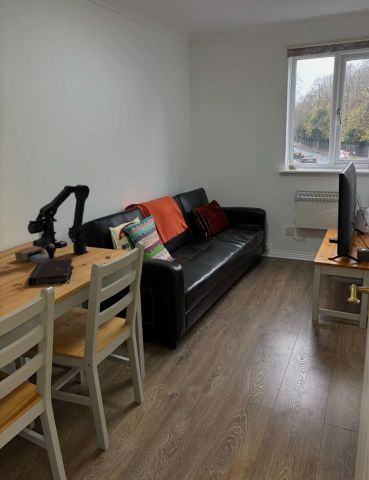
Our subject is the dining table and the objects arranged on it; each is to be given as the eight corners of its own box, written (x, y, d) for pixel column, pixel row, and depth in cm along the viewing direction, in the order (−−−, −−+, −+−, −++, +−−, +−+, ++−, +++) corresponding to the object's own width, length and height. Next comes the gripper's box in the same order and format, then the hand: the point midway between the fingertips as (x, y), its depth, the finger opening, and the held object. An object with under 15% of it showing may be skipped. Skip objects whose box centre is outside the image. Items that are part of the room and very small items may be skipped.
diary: (28, 287, 177) (26, 277, 176) (37, 270, 201) (36, 261, 199) (71, 284, 180) (69, 273, 179) (75, 267, 204) (74, 258, 203)
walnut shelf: (45, 255, 225) (44, 246, 224) (25, 262, 212) (24, 253, 211) (35, 253, 228) (34, 245, 227) (15, 261, 214) (14, 251, 213)
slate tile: (55, 259, 218) (54, 255, 218) (45, 263, 211) (44, 259, 210) (37, 257, 222) (37, 253, 222) (27, 261, 215) (26, 257, 215)
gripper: (23, 232, 207) (27, 261, 210) (52, 235, 200) (55, 264, 204) (38, 228, 217) (41, 255, 220) (66, 230, 210) (69, 258, 214)
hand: (51, 258), depth 214 cm, fingers closed
